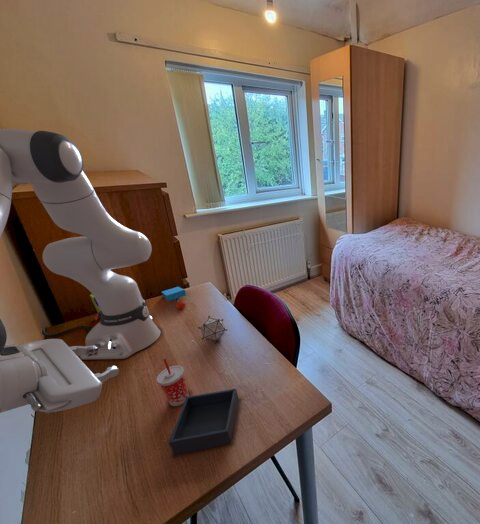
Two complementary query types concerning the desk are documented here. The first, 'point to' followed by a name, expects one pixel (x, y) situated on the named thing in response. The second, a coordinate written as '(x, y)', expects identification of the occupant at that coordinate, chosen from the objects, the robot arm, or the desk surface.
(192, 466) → the desk surface
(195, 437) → the tote
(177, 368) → the beverage cup
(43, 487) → the desk surface
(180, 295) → the lever
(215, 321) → the game die
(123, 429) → the desk surface
